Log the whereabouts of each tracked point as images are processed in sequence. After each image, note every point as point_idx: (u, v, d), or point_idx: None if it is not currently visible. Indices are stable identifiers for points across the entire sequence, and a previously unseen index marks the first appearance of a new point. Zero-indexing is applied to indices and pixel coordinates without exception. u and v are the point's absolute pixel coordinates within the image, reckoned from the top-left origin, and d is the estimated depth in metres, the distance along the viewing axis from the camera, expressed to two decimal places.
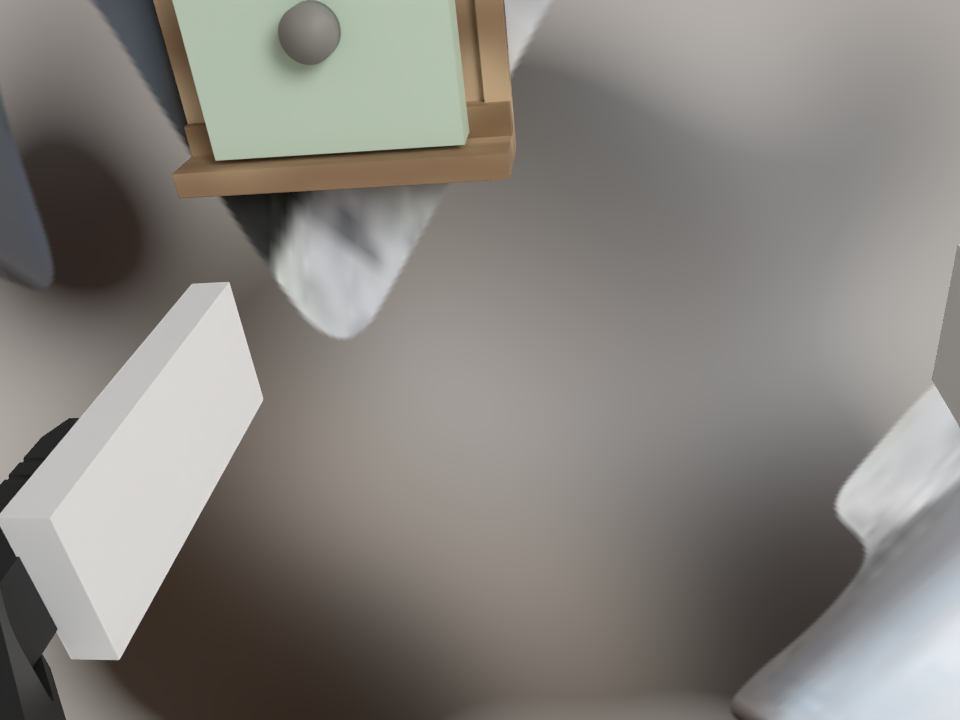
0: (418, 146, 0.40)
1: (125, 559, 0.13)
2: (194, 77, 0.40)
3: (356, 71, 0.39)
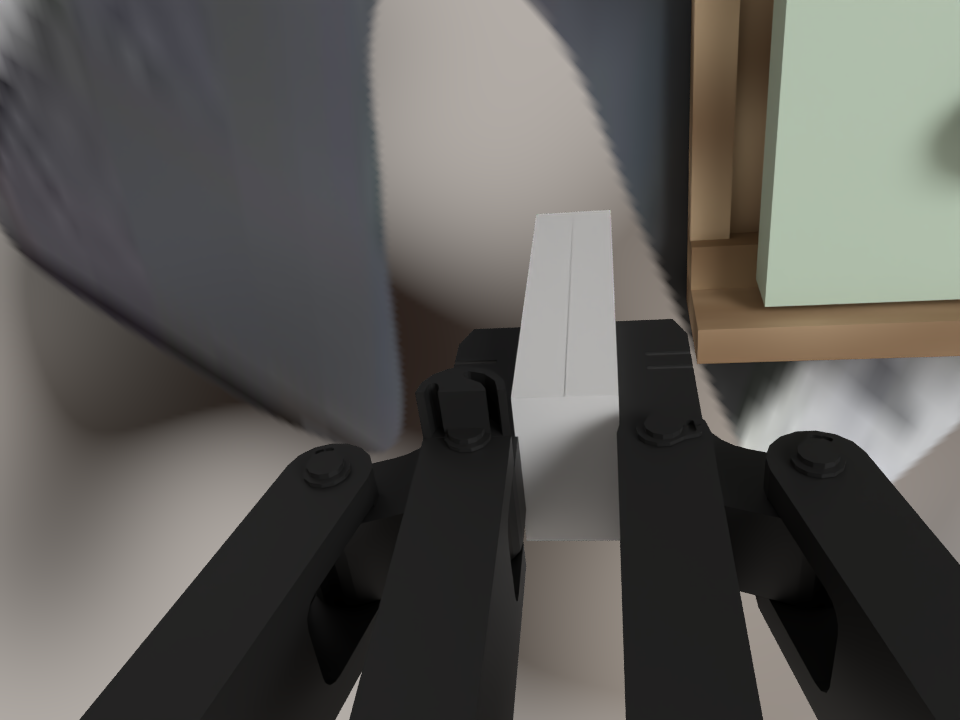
0: None
1: None
2: (776, 183, 0.24)
3: None
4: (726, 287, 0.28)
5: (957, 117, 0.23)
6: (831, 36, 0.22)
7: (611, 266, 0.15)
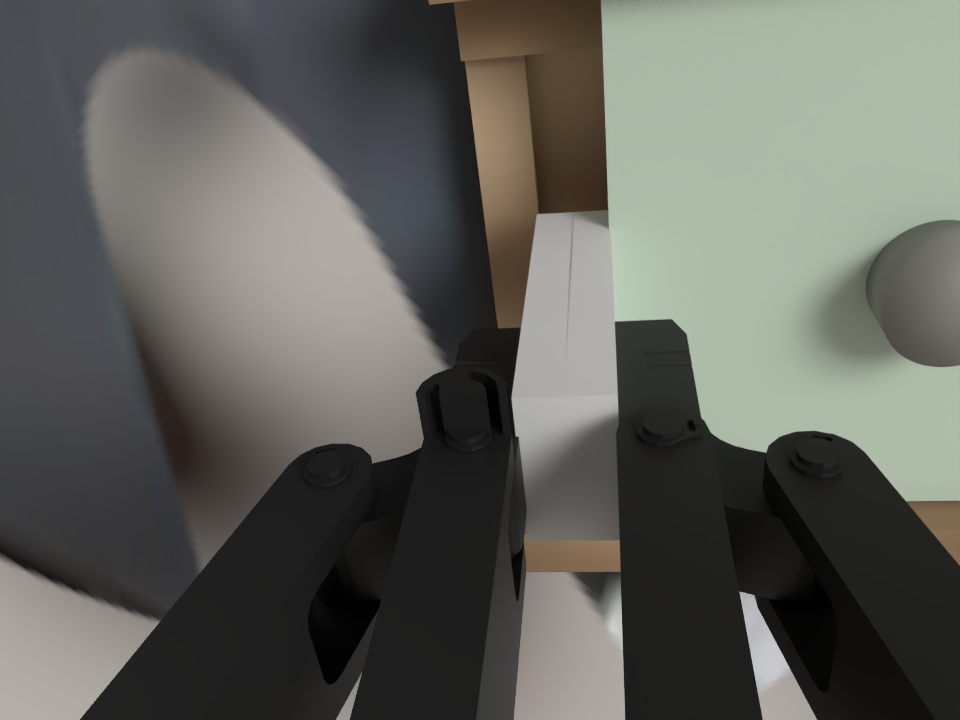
0: None
1: None
2: None
3: None
4: None
5: (847, 286, 0.17)
6: (670, 183, 0.16)
7: (610, 266, 0.15)
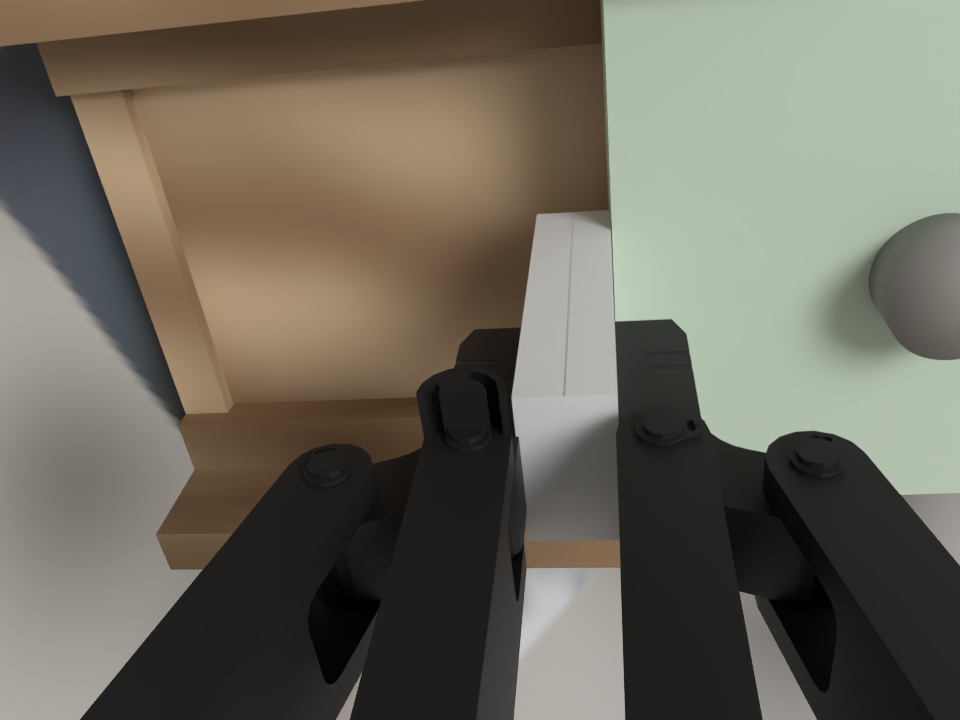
0: None
1: None
2: None
3: None
4: (233, 467, 0.24)
5: (850, 281, 0.17)
6: (673, 181, 0.16)
7: (610, 266, 0.15)
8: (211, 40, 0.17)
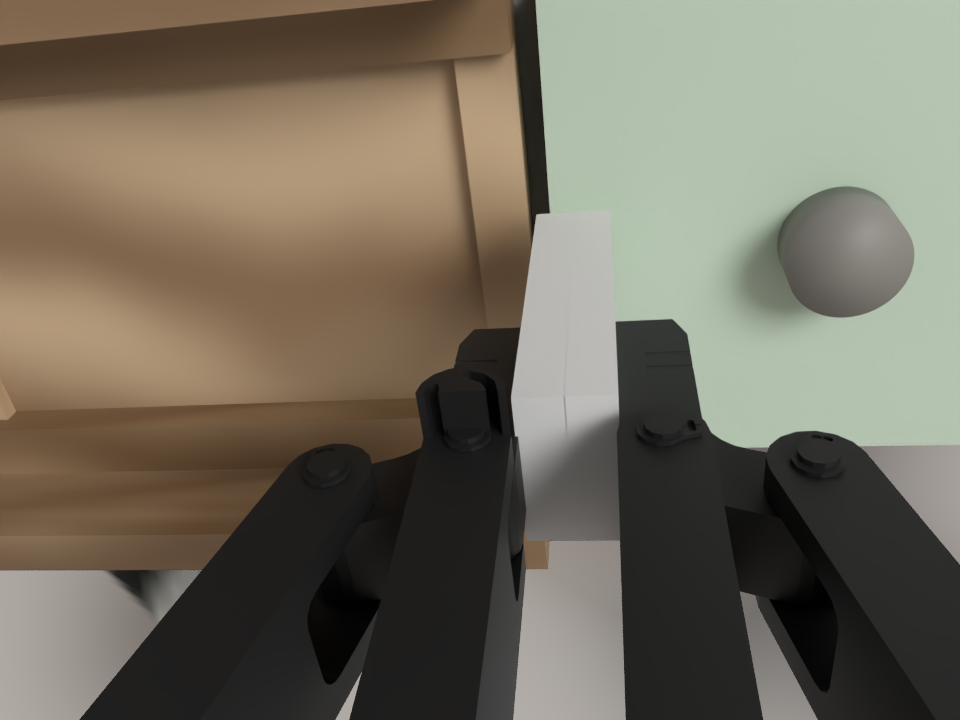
0: None
1: None
2: None
3: (902, 315, 0.19)
4: (16, 472, 0.24)
5: (761, 247, 0.19)
6: (601, 153, 0.18)
7: (611, 266, 0.15)
8: None
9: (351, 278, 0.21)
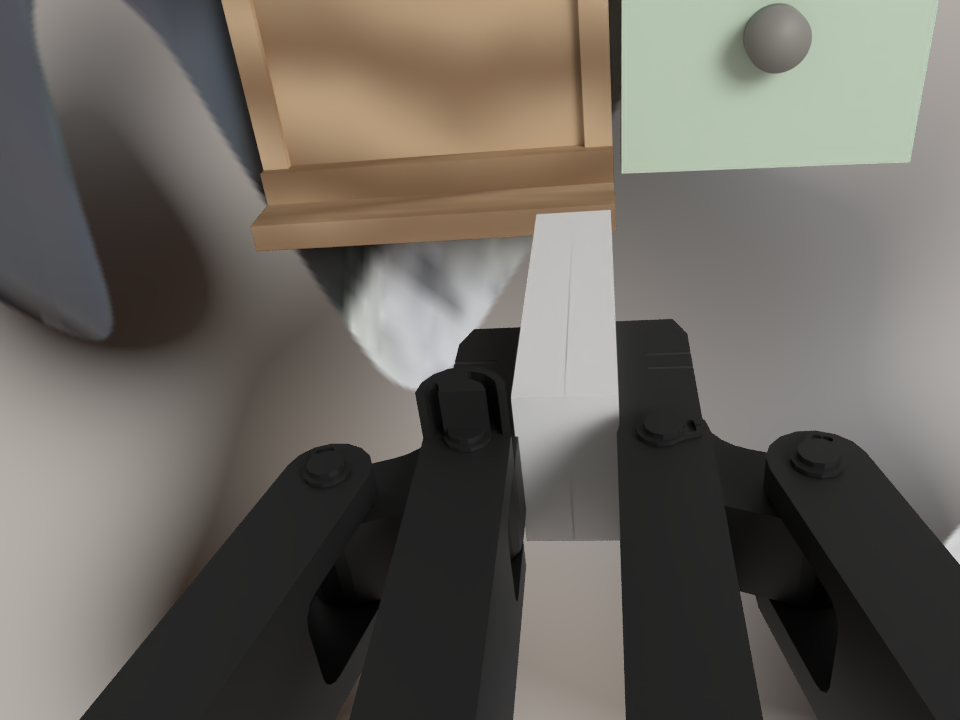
0: (856, 163, 0.37)
1: None
2: (623, 84, 0.37)
3: (809, 80, 0.36)
4: (290, 202, 0.41)
5: (734, 39, 0.35)
6: None
7: (611, 266, 0.15)
8: None
9: (505, 69, 0.37)
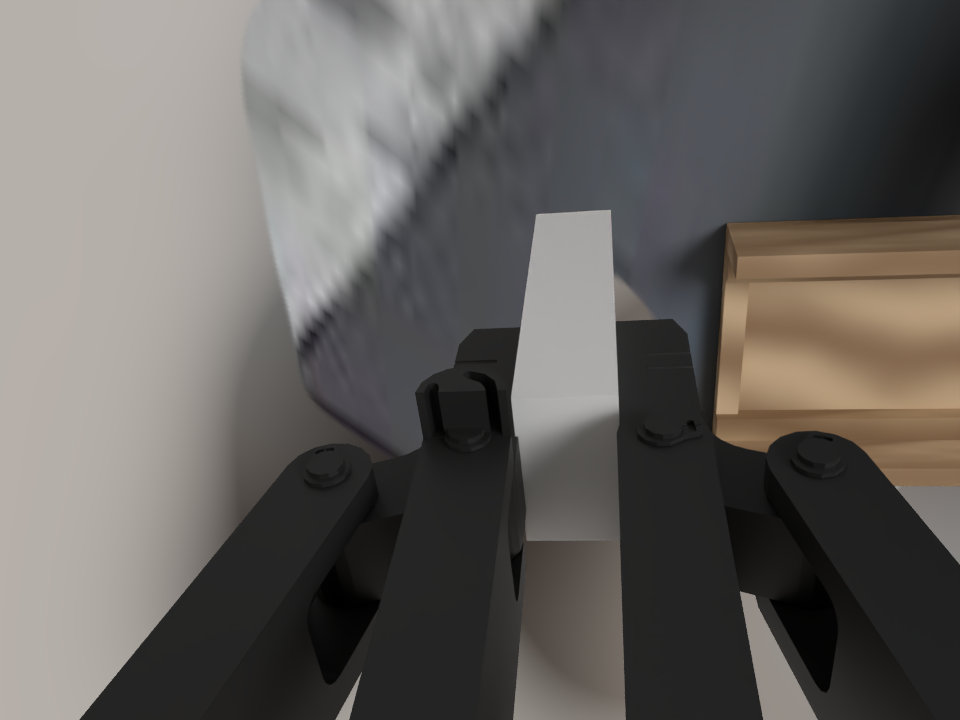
0: None
1: None
2: None
3: None
4: (735, 440, 0.50)
5: None
6: None
7: (611, 266, 0.15)
8: None
9: (941, 354, 0.47)
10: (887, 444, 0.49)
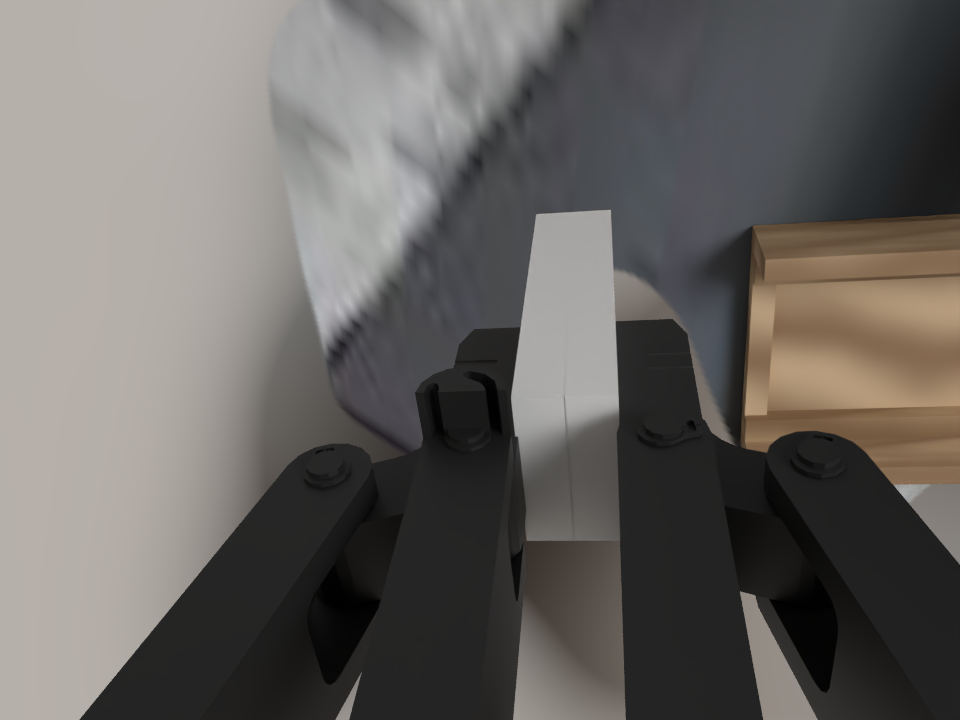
0: None
1: None
2: None
3: None
4: (764, 440, 0.50)
5: None
6: None
7: (611, 266, 0.15)
8: None
9: None
10: (917, 442, 0.49)
